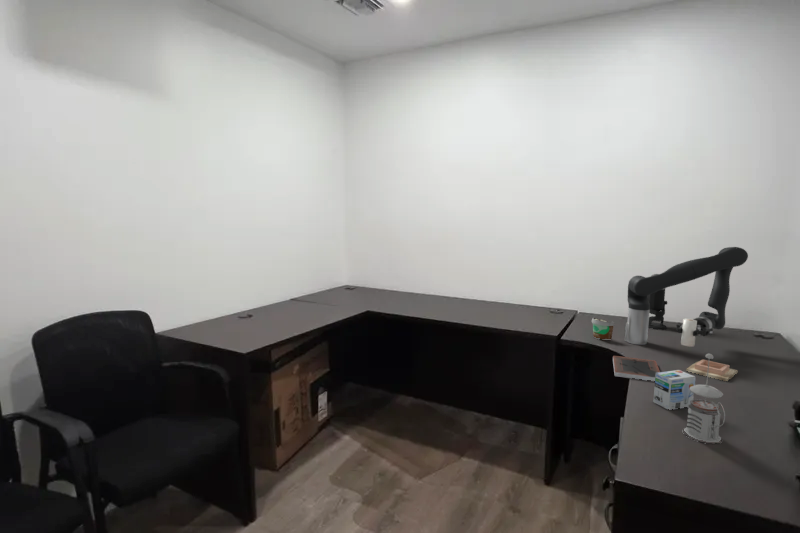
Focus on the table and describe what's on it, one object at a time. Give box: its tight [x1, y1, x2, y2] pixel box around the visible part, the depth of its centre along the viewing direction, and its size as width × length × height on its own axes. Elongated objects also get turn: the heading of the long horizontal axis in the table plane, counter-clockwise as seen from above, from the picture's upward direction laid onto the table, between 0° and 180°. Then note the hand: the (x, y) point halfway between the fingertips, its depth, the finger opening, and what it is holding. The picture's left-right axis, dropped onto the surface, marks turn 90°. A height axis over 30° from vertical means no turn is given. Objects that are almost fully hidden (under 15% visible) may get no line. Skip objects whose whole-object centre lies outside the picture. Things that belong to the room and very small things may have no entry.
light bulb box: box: [653, 369, 696, 411], centre depth 150 cm, size 11×7×11 cm, turn 106°
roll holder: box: [685, 358, 739, 382], centre depth 180 cm, size 14×14×3 cm
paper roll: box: [680, 318, 697, 348], centre depth 191 cm, size 5×5×11 cm
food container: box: [591, 316, 616, 340], centre depth 226 cm, size 12×6×10 cm, turn 25°
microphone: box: [648, 273, 668, 330], centre depth 247 cm, size 13×12×30 cm
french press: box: [683, 353, 726, 442], centre depth 128 cm, size 10×12×25 cm
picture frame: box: [612, 355, 661, 382], centre depth 183 cm, size 16×2×22 cm
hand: (686, 332), depth 189 cm, fingers closed on paper roll, 5 cm apart
